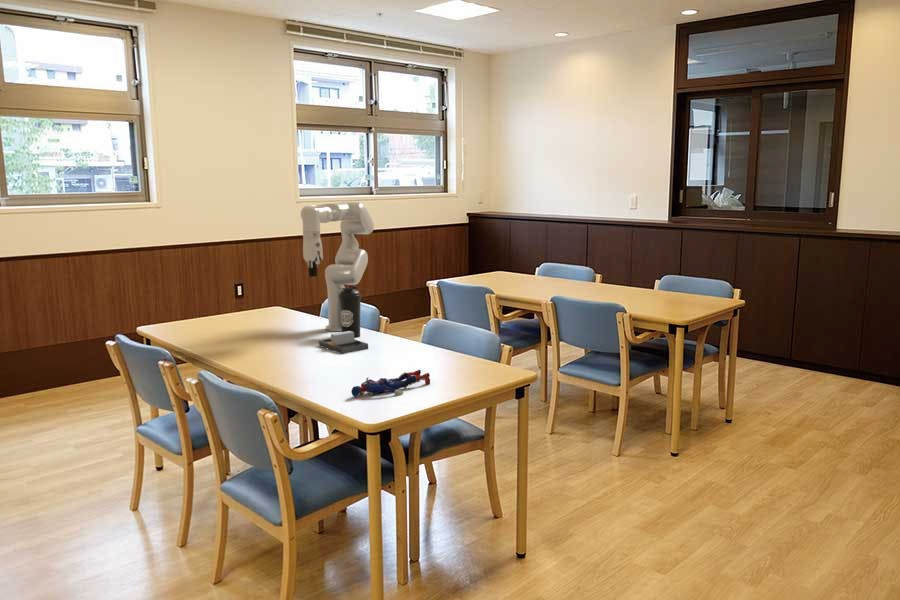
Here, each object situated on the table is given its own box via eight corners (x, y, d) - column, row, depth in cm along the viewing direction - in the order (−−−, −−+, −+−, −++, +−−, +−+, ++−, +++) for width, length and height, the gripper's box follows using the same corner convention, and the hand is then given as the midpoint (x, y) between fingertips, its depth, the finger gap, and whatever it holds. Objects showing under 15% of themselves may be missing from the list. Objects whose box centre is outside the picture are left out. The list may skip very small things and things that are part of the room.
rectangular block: (349, 343, 304) (349, 330, 303) (354, 344, 302) (354, 332, 301) (331, 346, 298) (331, 334, 297) (335, 348, 296) (335, 335, 295)
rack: (344, 341, 311) (343, 334, 311) (368, 348, 297) (368, 342, 297) (318, 345, 303) (318, 339, 302) (342, 353, 289) (342, 347, 288)
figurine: (412, 378, 255) (341, 394, 236) (412, 363, 254) (340, 378, 235) (436, 387, 244) (363, 404, 225) (436, 372, 243) (363, 388, 224)
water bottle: (335, 337, 319) (334, 288, 315) (347, 332, 328) (345, 285, 324) (355, 339, 315) (353, 289, 311) (366, 334, 324) (364, 286, 320)
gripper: (327, 235, 303) (329, 277, 306) (310, 233, 314) (311, 273, 318) (312, 236, 298) (314, 278, 302) (295, 234, 309) (297, 275, 313)
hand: (313, 276), depth 310 cm, fingers closed
